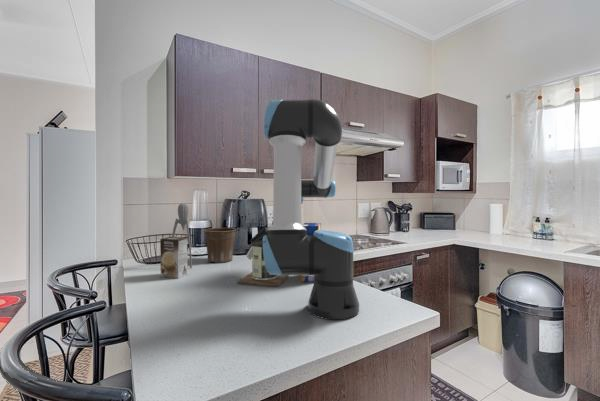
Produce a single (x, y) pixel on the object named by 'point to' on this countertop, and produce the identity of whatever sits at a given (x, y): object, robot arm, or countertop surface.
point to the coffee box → (173, 257)
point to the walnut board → (262, 281)
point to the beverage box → (310, 230)
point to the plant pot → (220, 244)
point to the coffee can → (259, 263)
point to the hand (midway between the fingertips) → (260, 260)
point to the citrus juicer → (183, 223)
